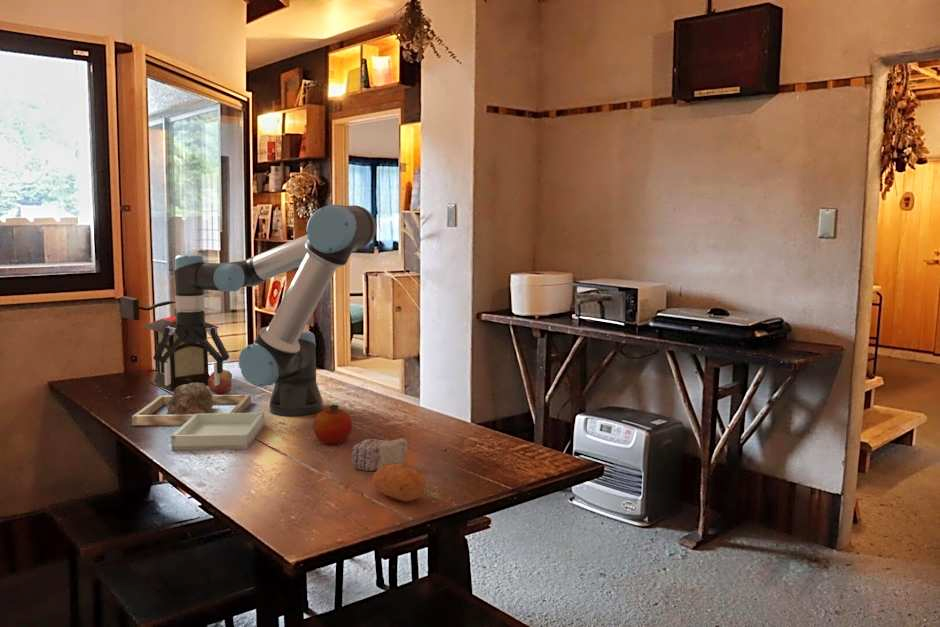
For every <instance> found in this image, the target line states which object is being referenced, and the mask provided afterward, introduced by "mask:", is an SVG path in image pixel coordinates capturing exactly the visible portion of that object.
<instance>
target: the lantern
mask: <svg viewBox="0 0 940 627" xmlns="http://www.w3.org/2000/svg"><path fill="white" fill-rule="evenodd" d="M119 297H120V298H119V299H120V315H121V317H122V318H124V319H125V318H126V319H128V320H132V321H140V319H141V318H140V310H142V311H148V312H149V311H152V310H154V309H156V308H158V307H164V306H167V305H171V304H176V301H172V300H166V301H162V302H158V303H155V304H152V305H151V306H148V307H143V306H140V304H139V302H140V301H139V300H140V299H138V298H134V297H131V296H128V295H127V296H119ZM174 312H175V313H174V316H169V317H164V318H163V317H162V318H160V319H157V320H155V321H152V322H149V323H147V324H145V325H141V328H144V329H148V330H151V331H154V335H155V337H154V339H155V352H156V351H157V349H158V347H159V345H160V343H161V341H162V339H163V336H164V330H165V328H166V327H168V326H170V327H171V328H176V312H177V309H175V311H174ZM205 327H206V328H213V327H216V328H217V329H219V328H220V326H217V325H214V324H211V323H210V322H207V321H205ZM204 337H205V338H206V339H207V340H208V333H207V332H206V334H205V335H204ZM177 339H178V336H177V334H176V333H175V332H174V333H173V334H172V335H171V336H170V338H169V340H168V343H167V345H166V347H165V349H164V351H163V353H162V355H161V356H163V355H164V354H165V353H166V352H167V351H168V349H169V348H170V347H171V346H172V345H173V344H174V342H175V341H176V340H177ZM208 353H209V352H208V351H207V350H206V349H205V348H204V347H203V346H202V345H201V344H200V343H199V342H198V343H196V344H193V343H184V342H182V343H181V344H180V345H179V346H178V347H177V348H176V350H175V351H174V352H173V353H172V354H171V355H170V357H169V358H168V359H167V361H170V377H171V384H169V385H168V386H165V373H161V362H160V361H158V360H156V374H155V378H154V382H153V383H154V384H155V385H156V386H159V387H162V388H164V389H166V390H167V391H170V392H174V391H175V389H176V388H177V387H178V386H181V385H184V384H189V383H204V384H205V386H206V387H207V386H208V387H209V385H208V379H209V377H210V374H209V357H208V355H209V354H208Z"/></svg>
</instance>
